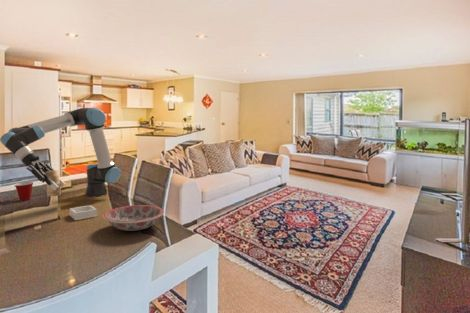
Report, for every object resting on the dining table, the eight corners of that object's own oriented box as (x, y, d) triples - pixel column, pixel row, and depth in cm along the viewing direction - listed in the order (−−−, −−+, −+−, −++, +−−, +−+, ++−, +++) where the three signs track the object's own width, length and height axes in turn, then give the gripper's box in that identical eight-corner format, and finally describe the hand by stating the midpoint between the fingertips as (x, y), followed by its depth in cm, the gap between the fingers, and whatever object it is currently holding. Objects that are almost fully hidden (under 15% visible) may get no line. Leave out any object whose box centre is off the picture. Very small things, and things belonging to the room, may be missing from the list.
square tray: (91, 211, 173) (90, 205, 172) (97, 216, 164) (97, 209, 164) (69, 215, 165) (69, 208, 164) (75, 220, 156) (75, 213, 156)
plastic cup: (17, 198, 198) (16, 181, 197) (36, 197, 202) (35, 180, 201) (12, 202, 188) (11, 184, 187) (32, 201, 193) (31, 183, 191)
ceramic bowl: (143, 215, 168) (143, 202, 167) (175, 227, 149) (175, 212, 148) (92, 228, 145) (92, 213, 144) (123, 244, 127) (122, 226, 126)
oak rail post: (58, 193, 160) (57, 170, 159) (61, 195, 156) (60, 171, 154) (46, 194, 156) (44, 171, 155) (48, 196, 152) (47, 172, 150)
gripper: (34, 159, 163) (65, 187, 165) (9, 163, 144) (44, 196, 146) (43, 150, 163) (74, 179, 165) (19, 153, 144) (54, 186, 146)
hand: (60, 187), depth 156 cm, fingers closed on oak rail post, 6 cm apart
